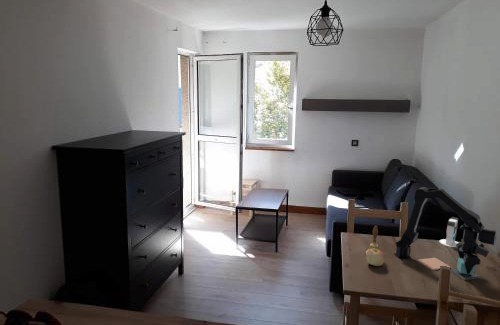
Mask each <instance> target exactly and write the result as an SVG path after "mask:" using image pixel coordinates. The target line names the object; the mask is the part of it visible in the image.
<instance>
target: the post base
mask: <svg viewBox="0 0 500 325" xmlns="http://www.w3.org/2000/svg"><path fill="white" fill-rule="evenodd" d="M450 270H451V272H450V273H452V274H453V275H455V276H457V277H458V278H460V279H462V280H463V281H471V280H478V279H481V275H479V274H477V273H475V272H474V275H471V274H464V273H460V272H459V270H458V268H452V269H451V268H450Z"/></svg>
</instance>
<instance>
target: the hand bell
mask: <svg viewBox="0 0 500 325" xmlns="http://www.w3.org/2000/svg"><path fill="white" fill-rule="evenodd" d="M378 234H379V230H378V226H377V225H374V227H373V229H372V237H373V238H372V242H371V243H370V244H369V248H368V249H367V250H366V251H365V254H366V255H367V252H368V251H369V250H370V249H372V248H375V249H378V250H380V249H379V245H378V244H377V237H378Z"/></svg>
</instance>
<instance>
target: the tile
mask: <svg viewBox="0 0 500 325" xmlns="http://www.w3.org/2000/svg"><path fill="white" fill-rule="evenodd" d="M417 262H419V264H422V265H424V266H425V267H426V268H428V269H429V270H431V271H438V270H439V269H440V266H447V267H449V269H451V268H452V266H451V265H449V264H447V263H445V262H443V261H442V260H440V259H438V258H437V257H431V258H420V259H419V258H418V259H417ZM440 270H441V269H440Z"/></svg>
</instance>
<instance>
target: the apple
mask: <svg viewBox="0 0 500 325" xmlns="http://www.w3.org/2000/svg"><path fill="white" fill-rule="evenodd" d="M365 258H366V261H367V263H368V264H370V265H372V266H376V267H380V266H382V265H383V264H384V263H385V259H386V258H385V254H384V253H383V251H382V250H380V249H379V250H378V249H375V248H372V249H370V250H369V251H368V252H367V254H366V257H365Z"/></svg>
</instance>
